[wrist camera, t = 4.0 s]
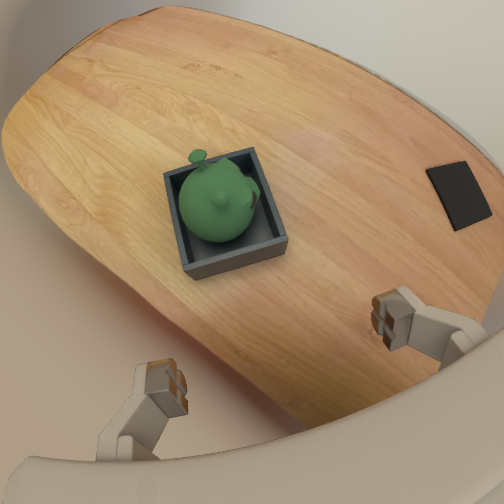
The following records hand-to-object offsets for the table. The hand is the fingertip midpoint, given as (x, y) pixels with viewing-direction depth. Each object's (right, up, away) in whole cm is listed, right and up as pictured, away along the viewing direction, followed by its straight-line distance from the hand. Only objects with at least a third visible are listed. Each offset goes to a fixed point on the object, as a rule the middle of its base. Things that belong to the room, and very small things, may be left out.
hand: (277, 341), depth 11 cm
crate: (-4, +7, +21) cm, 22 cm away
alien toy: (-4, +7, +21) cm, 22 cm away
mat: (+28, +11, +21) cm, 37 cm away
